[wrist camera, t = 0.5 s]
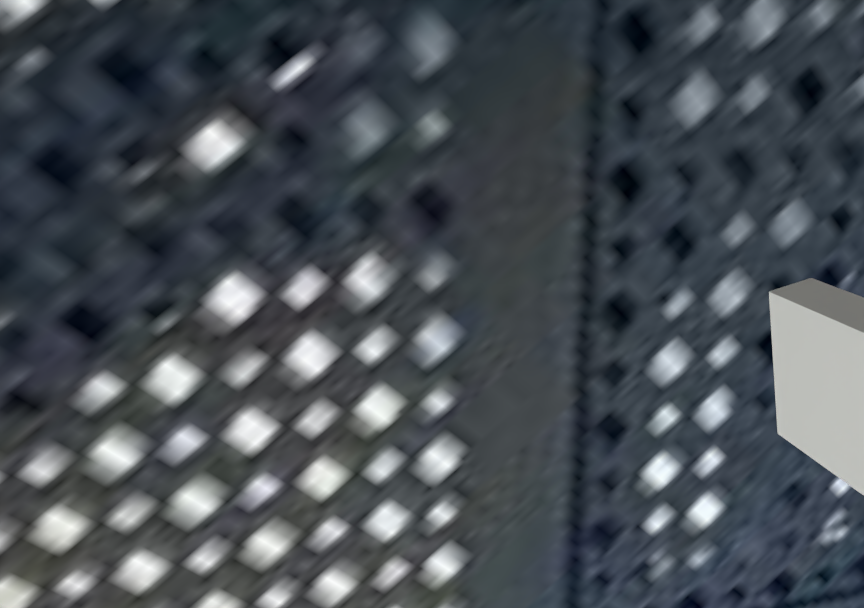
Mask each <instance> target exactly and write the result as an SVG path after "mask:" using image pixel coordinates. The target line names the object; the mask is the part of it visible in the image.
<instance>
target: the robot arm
mask: <svg viewBox="0 0 864 608" xmlns="http://www.w3.org/2000/svg"><path fill="white" fill-rule="evenodd" d="M769 302H770V318H771V334H772V350H773V366H774V382H775V398H776V415H777V431H778V434H779V435H780V436H782V437H783V438H785V439H786V440H787V441H789V442H790V443H792V444H793V445H794V446H796V447H797V448H798V449H800V450H801V451H803V452H804V453H805V454H807V455H808V456H810V457H811V458H812V459H814V460H815V461H816V462H818V463H819V464H821V465H822V466H823V467H825V468H826V469H828V470H829V471H830V472H832V473H833V474H835V475H836V476H837V477H839V478H840V479H841V480H843V481H844V482H846V483H847V484H848V485H850V486H851V487H853V488H854V489H855V490H857V491H858V492H860V493H861V494H862V495H864V298H863V297H861V296H858V295H855V294H853V293H850V292H847V291H844V290H842V289H839V288H836V287H834V286H831V285H828V284H826V283H823V282H820V281H818V280H815V279H812V278H810V279H807V280H803V281H800V282H797V283H794V284H791V285H788V286H785V287H782V288H779V289H776V290H772V291H769Z"/></svg>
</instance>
